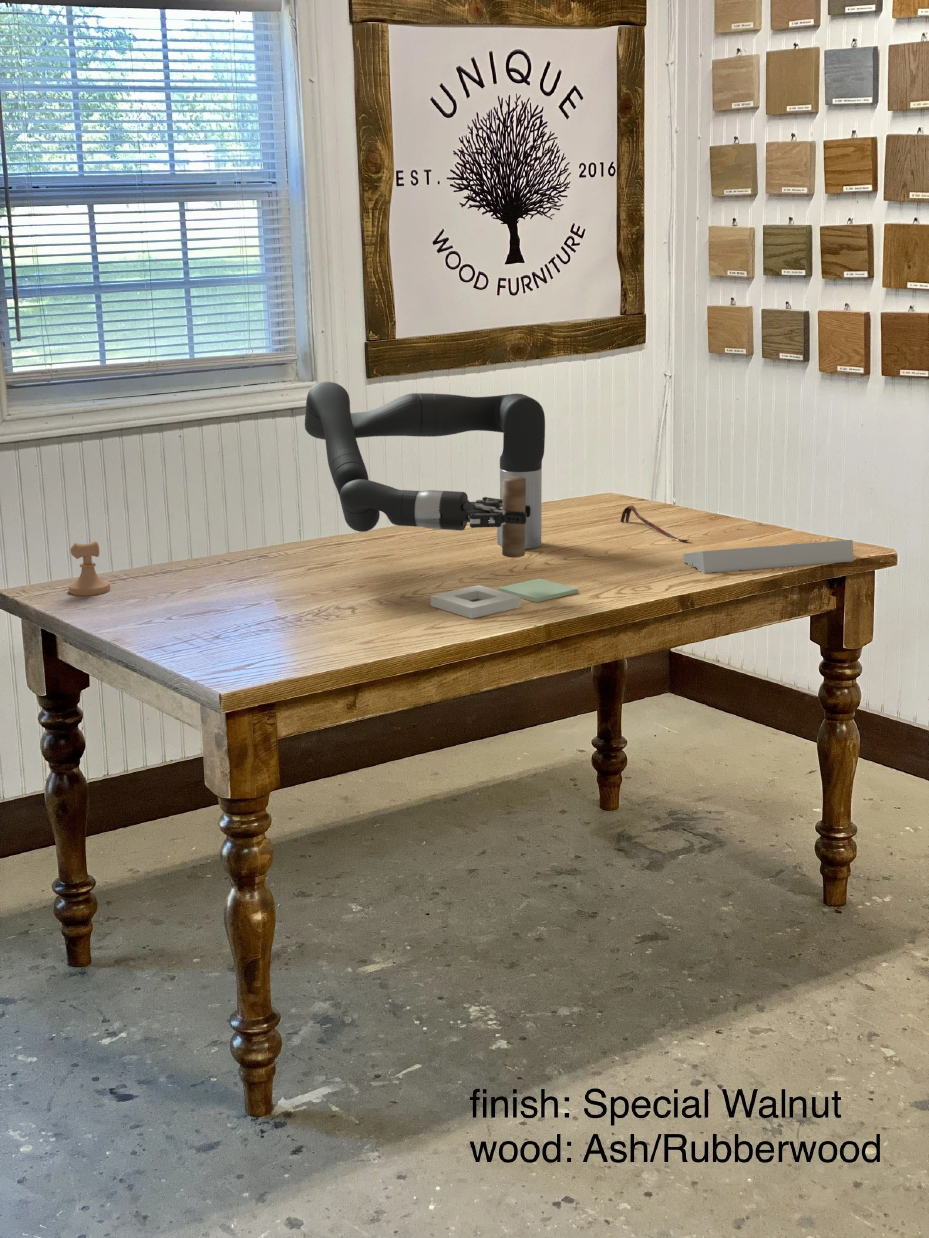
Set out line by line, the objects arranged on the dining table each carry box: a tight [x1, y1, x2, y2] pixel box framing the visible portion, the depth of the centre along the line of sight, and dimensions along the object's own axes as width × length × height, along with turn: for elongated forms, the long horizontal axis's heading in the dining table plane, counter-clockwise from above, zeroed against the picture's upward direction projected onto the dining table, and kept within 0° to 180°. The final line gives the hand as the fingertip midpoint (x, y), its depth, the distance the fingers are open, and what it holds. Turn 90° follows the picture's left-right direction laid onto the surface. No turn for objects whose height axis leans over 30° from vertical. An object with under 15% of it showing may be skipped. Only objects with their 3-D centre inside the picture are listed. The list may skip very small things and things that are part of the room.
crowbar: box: [620, 505, 690, 542], centre depth 335 cm, size 26×2×5 cm, turn 26°
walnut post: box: [501, 476, 526, 559], centre depth 280 cm, size 4×4×15 cm
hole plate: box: [430, 584, 521, 620], centre depth 274 cm, size 12×12×2 cm
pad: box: [497, 577, 579, 603], centre depth 283 cm, size 11×11×1 cm
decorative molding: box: [682, 539, 855, 574], centre depth 305 cm, size 34×5×10 cm
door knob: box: [68, 540, 111, 596], centre depth 288 cm, size 8×10×8 cm
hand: (527, 514), depth 279 cm, fingers closed on walnut post, 4 cm apart
